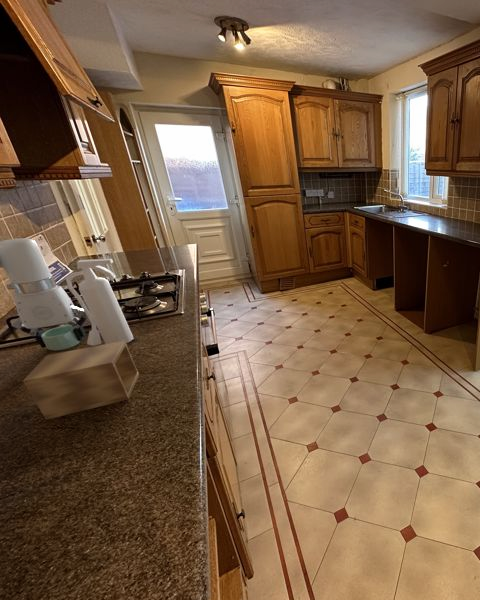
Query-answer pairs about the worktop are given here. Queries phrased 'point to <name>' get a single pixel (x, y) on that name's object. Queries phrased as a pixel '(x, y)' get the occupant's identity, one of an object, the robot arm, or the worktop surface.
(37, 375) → the wooden box
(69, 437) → the worktop surface
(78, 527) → the worktop surface
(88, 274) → the fire extinguisher
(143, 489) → the worktop surface
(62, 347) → the bowl
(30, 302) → the robot arm
